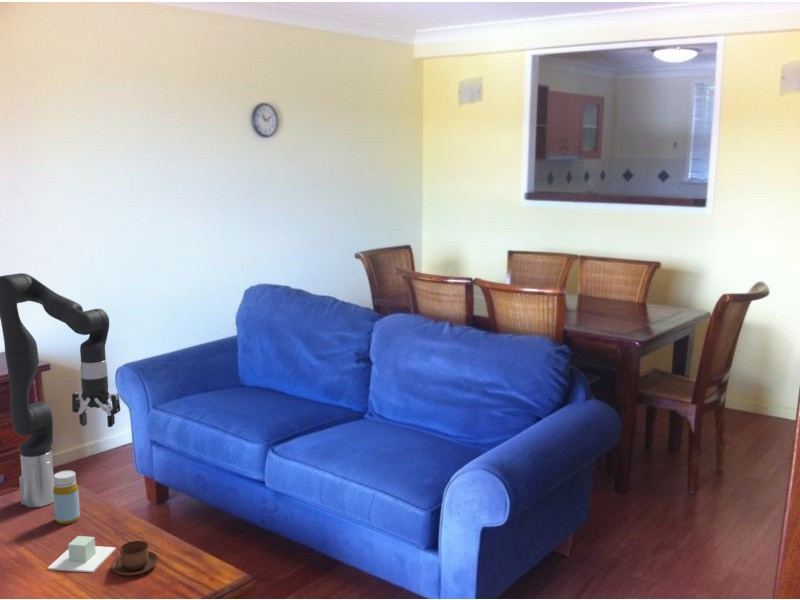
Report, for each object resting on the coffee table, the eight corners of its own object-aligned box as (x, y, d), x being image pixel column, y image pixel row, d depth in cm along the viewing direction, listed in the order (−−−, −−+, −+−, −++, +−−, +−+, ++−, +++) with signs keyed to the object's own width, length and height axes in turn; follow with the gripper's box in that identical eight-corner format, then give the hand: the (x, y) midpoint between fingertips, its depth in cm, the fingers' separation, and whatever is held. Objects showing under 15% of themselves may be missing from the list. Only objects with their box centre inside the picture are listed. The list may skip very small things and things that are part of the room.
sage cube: (69, 561, 210) (68, 544, 209) (79, 552, 215) (78, 535, 214) (86, 562, 209) (85, 545, 208) (95, 553, 214) (94, 537, 213)
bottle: (73, 525, 232) (70, 479, 229) (51, 524, 232) (47, 478, 230) (83, 515, 239) (80, 470, 236) (61, 514, 239) (58, 469, 236)
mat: (47, 569, 207) (47, 567, 206) (73, 546, 219) (73, 544, 219) (92, 572, 205) (92, 570, 205) (115, 549, 218) (115, 547, 218)
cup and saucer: (143, 581, 201) (142, 560, 200) (102, 576, 203) (101, 555, 202) (165, 559, 213) (165, 539, 212) (127, 555, 215) (126, 534, 214)
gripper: (122, 372, 232) (125, 422, 235) (78, 370, 234) (81, 420, 237) (110, 379, 225) (113, 431, 228) (65, 377, 227) (68, 428, 229)
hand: (97, 425), depth 232 cm, fingers open, 8 cm apart
